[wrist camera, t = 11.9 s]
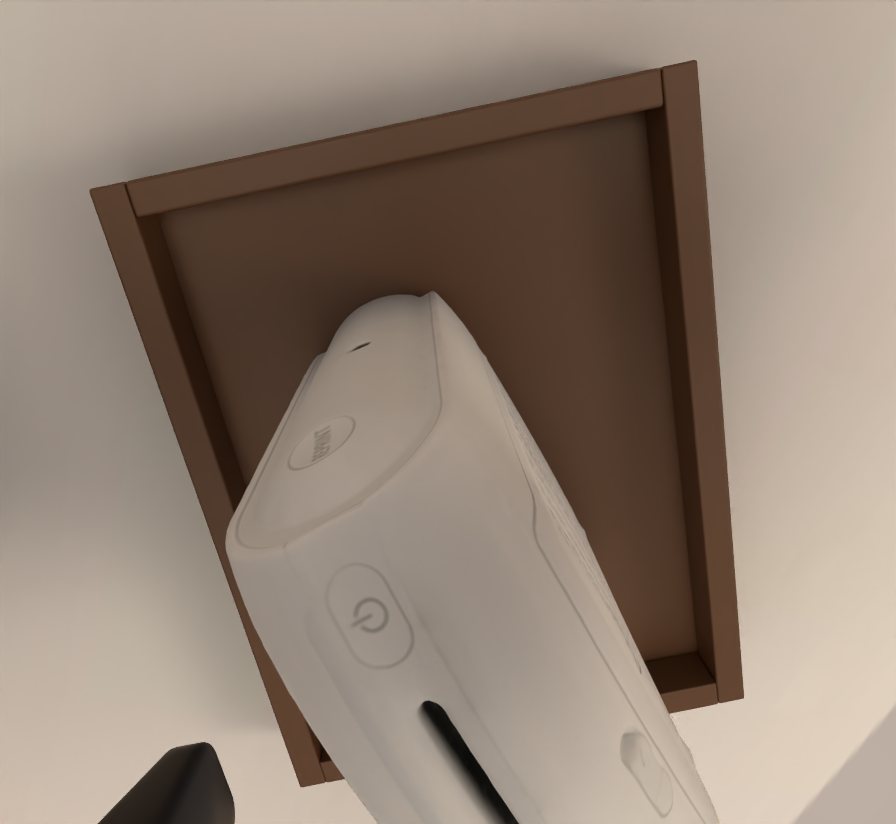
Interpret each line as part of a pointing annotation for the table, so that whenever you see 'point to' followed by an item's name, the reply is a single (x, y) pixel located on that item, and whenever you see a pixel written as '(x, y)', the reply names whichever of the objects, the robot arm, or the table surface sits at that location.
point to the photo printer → (446, 596)
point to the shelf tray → (473, 326)
